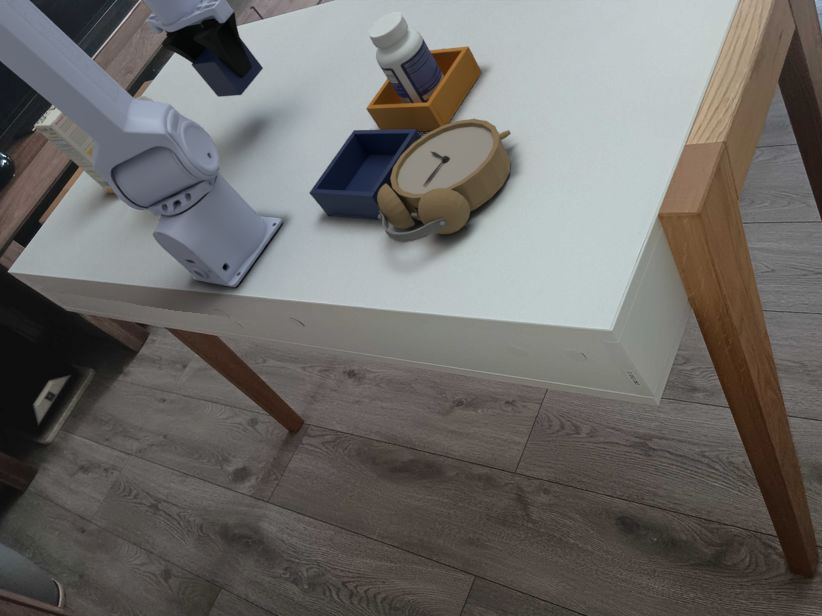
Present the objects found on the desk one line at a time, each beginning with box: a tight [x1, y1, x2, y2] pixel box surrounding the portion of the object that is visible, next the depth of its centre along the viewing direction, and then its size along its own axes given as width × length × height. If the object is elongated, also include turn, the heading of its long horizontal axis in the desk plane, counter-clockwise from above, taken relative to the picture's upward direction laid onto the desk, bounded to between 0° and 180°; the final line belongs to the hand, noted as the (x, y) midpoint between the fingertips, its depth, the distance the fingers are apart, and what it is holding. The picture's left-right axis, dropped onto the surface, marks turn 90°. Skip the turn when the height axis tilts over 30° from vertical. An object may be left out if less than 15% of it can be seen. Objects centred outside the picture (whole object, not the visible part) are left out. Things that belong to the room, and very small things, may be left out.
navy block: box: [191, 37, 264, 98], centre depth 94 cm, size 5×5×5 cm
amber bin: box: [365, 46, 482, 132], centre depth 83 cm, size 9×9×3 cm
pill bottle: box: [368, 11, 444, 104], centre depth 80 cm, size 5×5×10 cm
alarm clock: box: [377, 118, 512, 243], centre depth 71 cm, size 11×5×15 cm
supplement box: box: [33, 104, 115, 194], centre depth 105 cm, size 8×5×13 cm, turn 152°
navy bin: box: [309, 129, 422, 220], centre depth 78 cm, size 9×9×3 cm
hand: (233, 73), depth 95 cm, fingers closed on navy block, 5 cm apart
